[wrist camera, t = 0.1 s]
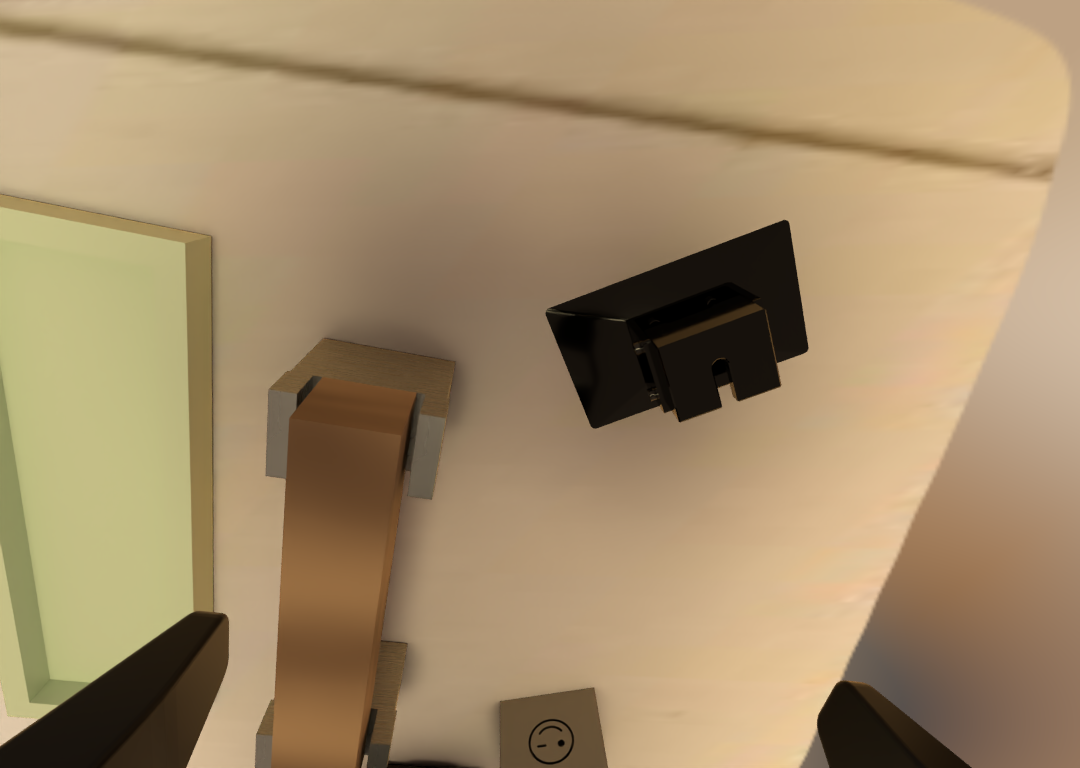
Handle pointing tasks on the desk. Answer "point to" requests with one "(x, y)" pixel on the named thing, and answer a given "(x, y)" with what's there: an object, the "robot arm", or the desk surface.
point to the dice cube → (552, 731)
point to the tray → (99, 443)
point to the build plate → (686, 330)
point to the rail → (336, 567)
